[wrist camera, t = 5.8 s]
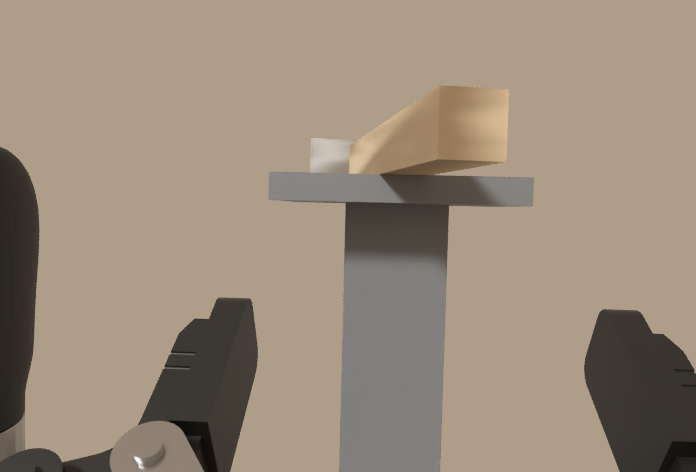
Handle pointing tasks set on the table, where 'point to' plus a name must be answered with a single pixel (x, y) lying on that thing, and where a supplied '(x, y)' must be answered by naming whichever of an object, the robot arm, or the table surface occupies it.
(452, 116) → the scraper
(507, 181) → the stand
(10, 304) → the robot arm
